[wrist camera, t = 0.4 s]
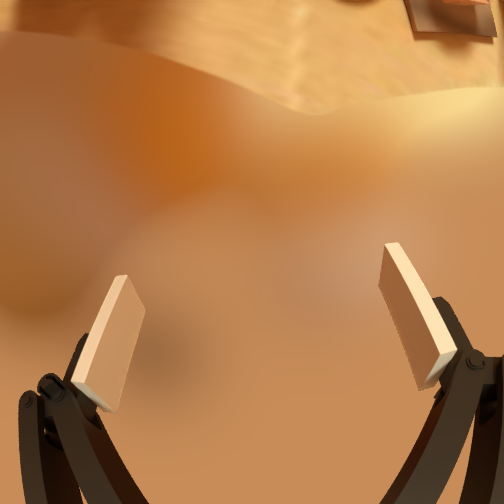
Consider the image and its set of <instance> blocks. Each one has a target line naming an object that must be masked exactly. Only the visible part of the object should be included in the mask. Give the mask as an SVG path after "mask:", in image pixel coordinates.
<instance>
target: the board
mask: <svg viewBox="0 0 504 504" xmlns="http://www.w3.org/2000/svg"><path fill="white" fill-rule="evenodd" d="M404 1H405V4H406V8H407V11H408V14H409V18H410V21H411V25H412V29H413V32H449V33H463V34H473V35H482V36H489V37H497V32H496V28H495V23H494V19H493V15H492V11H491V7H490V4H489V5H469V6H462V5H455V4H447V3H444V2H443V1H442V0H404Z"/></svg>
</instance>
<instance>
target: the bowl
mask: <svg viewBox="0 0 504 504" xmlns="http://www.w3.org/2000/svg"><path fill="white" fill-rule="evenodd" d="M442 1H443V2H444V3H447V4H455V5H462V6H469V5H489V4H491V2H492V0H442Z"/></svg>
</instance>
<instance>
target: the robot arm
mask: <svg viewBox="0 0 504 504" xmlns="http://www.w3.org/2000/svg"><path fill="white" fill-rule="evenodd" d="M378 286H379V288H380V290H381V293H382V295H383V297H384V299H385V302H386V304H387V306H388V309H389V311H390V314H391V316H392V319H393V321H394V324H395V326H396V329H397V331H398V334H399V336H400V339H401V341H402V344H403V347H404V350H405V352H406V355H407V358H408V361H409V363H410V366H411V369H412V372H413V374H414V378H415V381H416V384H417V387H418V390H419V391H421V390H424V389H427V388H430V387H434V386H435V384H436V383H437V381H438V380H439V382H440V384H441V388H440V389H439V390H438V392H437V393H436V395H435V396H434V398H435V402H434V404H433V406H432V409H431V411H430V413H429V416H428V418H427V420H426V422H425V424H424V427H423V429H422V431H421V433H420V435H419V437H418V439H417V441H416V443H415V445H414V447H413V449H412V451H411V452H410V454H409V456H408V458H407V460H406V462H405V463H404V465H403V467H402V469H401V470H400V472H399V474H398V476H397V477H396V479H395V480H394V482H393V484H392V485H391V487H390V488H389V490H388V491H387V493H386V495H385V496H384V498H383V499H382V501H381V502H380V503H379V504H436V502H437V501H438V499H439V497H440V495H441V493H442V491H443V489H444V487H445V485H446V484H447V482H448V479H449V477H450V475H451V473H452V471H453V469H454V467H455V464H456V462H457V460H458V457H459V455H460V453H461V450H462V448H463V445H464V443H465V440H466V438H467V435H468V432H469V429H470V427H471V423H472V421H473V418H474V415H475V421H474V430H473V437H472V444H471V451H470V456H469V462H468V467H467V472H466V477H465V481H464V486H463V490H462V493H461V497H460V501H459V504H504V355H503V356H502V357H485V356H484V354H483V353H482V352H480V351H478V350H475V349H473V347H472V346H471V344H470V341H469V339H468V338H467V336H466V334H465V332H464V330H463V328H462V326H461V324H460V322H458V319H457V317H456V315H455V314H454V311H453V309H452V308H451V306H450V304H449V303H448V302H447V301H446V300H445V299H443V298H442V297H436V298H432V299H431V297H430V295H429V293H428V292H427V290H426V288H425V286H424V284H423V282H422V281H421V279H420V277H419V276H418V274H417V272H416V270H415V269H414V267H413V266H412V264H411V262H410V261H409V259H408V257H407V256H406V254H405V253H404V251H403V249H402V248H401V246H400V245H399V243H391V244H385V245H384V252H383V260H382V266H381V273H380V279H379V285H378ZM145 313H146V309H145V307H144V306H143V304H142V302H141V300H140V298H139V296H138V294H137V292H136V290H135V288H134V286H133V284H132V282H131V280H130V278H129V276H128V275H120V276H116V277H115V279H114V281H113V283H112V285H111V287H110V289H109V291H108V293H107V296H106V298H105V300H104V302H103V304H102V307H101V309H100V311H99V313H98V315H97V317H96V320H95V322H94V324H93V326H92V329H91V331H90V333H87V334H86V333H85V334H84V335H83V337H82V338H81V339H80V340H79V342H78V344H77V346H76V349H75V352H74V353H73V356H72V359H71V361H70V363H69V366H68V368H67V371H66V374H65V376H64V379H63V381H62V380H61V379H60V378H59V377H58V376H57V375H55V374H54V373H48V374H46V375H44V376H43V377H42V378H41V380H40V381H39V383H38V386H37V391H38V393H40V394H41V395H40V396H38V395H37V394H36V393H35V392H34V391H31V390H29V391H26V392H24V393H23V395H22V396H21V398H20V400H19V412H18V414H19V417H18V421H19V422H18V423H19V424H18V425H19V451H20V464H21V474H22V482H23V489H24V496H25V501H26V504H83V501H82V497H81V493H80V489H81V491H82V493H83V495H84V497H85V499H86V501H87V503H88V504H149V503H148V502H147V500H146V499H145V497H144V496H143V494H142V493H141V491H140V489H139V488H138V486H137V485H136V483H135V482H134V480H133V478H132V477H131V475H130V473H129V472H128V470H127V468H126V467H125V465H124V463H123V461H122V460H121V458H120V456H119V454H118V452H117V450H116V449H115V447H114V445H113V443H112V441H111V439H110V437H109V435H108V433H107V431H106V429H105V427H104V425H103V423H102V421H101V419H100V416H99V415H98V413H97V412H96V408H97V406H98V407H99V408H100V409H101V410H102V411H104V412H110V413H117V411H118V407H119V403H120V399H121V394H122V391H123V387H124V383H125V380H126V376H127V372H128V369H129V365H130V362H131V359H132V355H133V352H134V348H135V345H136V341H137V338H138V335H139V332H140V329H141V326H142V322H143V319H144V316H145ZM44 429H45V432H44ZM79 487H80V489H79Z"/></svg>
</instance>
